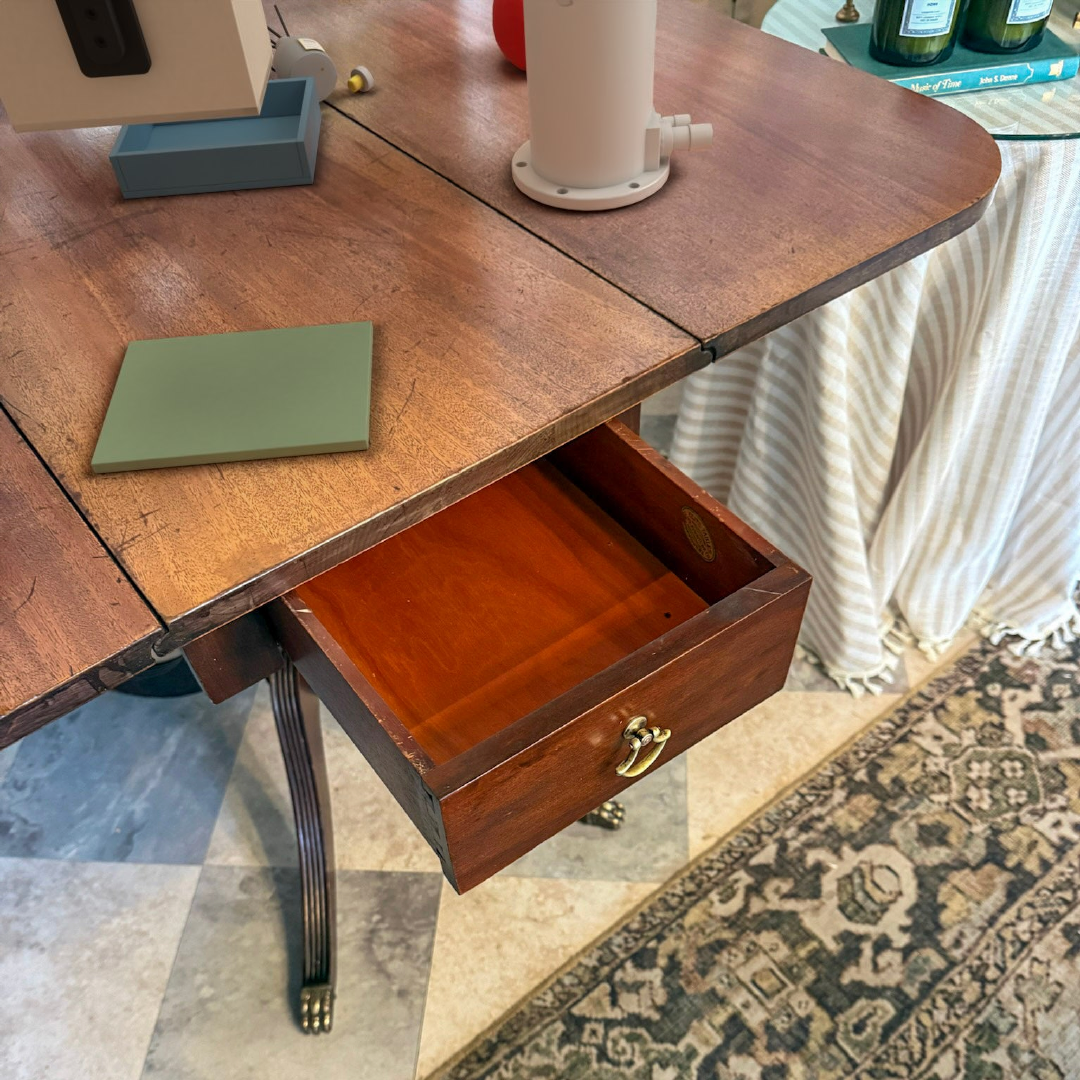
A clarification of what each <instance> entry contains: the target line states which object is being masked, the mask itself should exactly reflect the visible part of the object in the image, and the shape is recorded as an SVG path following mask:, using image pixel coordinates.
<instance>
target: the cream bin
mask: <svg viewBox="0 0 1080 1080" xmlns="http://www.w3.org/2000/svg"><path fill="white" fill-rule="evenodd" d="M133 3H134V7H135V10H136V13H137V16H138V20H139V23H140V26H141V29H142V32H143V36H144V39H145V42H146V45H147V48H148V52H149V55H150V58H151V62H152V65H151V68H150V70H149V72H148V73H146V74H141V75H127V76H113V77H99V78H89V77H86V76H85V75H84V74H83V73H82V72H81V70H80V67H79V65H78V62H77V59H76V57H75V54H74V51H73V48H72V46H71V43H70V40H69V37H68V35H67V32H66V29H65V26H64V24H63V21H62V18H61V15H60V13H59V10H58V7H57V4H56V2H55V0H0V101H1V102H2V105H3V108H4V110H5V112H6V114H7V116H8V120H9V121H10V123H11V126H12V128H13V130H14V133H15V134H23V133H37V132H39V133H40V132H50V131H51V132H52V131H64V130H79V129H92V128H105V127H106V128H107V127H118V126H122V125H134V124H147V123H161V122H175V121H188V120H202V119H216V118H229V117H243V116H256V115H260V111H261V107H262V103H263V99H264V95H265V91H266V87H267V83H268V80H270V75H271V71H272V66H273V63H274V55H275V54H274V52H273V48H272V46H271V45H272V43H271V42H270V39H271V36H270V34H269V33H270V32H269V30H268V28H267V26H268V24H267V20H266V15H265V12H264V11H265V10H264V7H263V3H262V0H133Z"/></svg>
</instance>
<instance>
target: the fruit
mask: <svg viewBox="0 0 1080 1080" xmlns="http://www.w3.org/2000/svg"><path fill="white" fill-rule="evenodd" d="M491 9H492V10H491V11H492V12H491V15H492V16H491V23H492V25H491V26H492V31H493V35H494V39H495V42H496V44H497V46H498V48H499V50H500V51H501V53H502V55H503V56H504V57H505V58H506V59H507V60H508V61H509V62H510V63H511V64H513V66H515V67H516V68H518V69H519V70H520V71H524V72H527V69H526V48H525V27H524V6H523V0H492V7H491Z"/></svg>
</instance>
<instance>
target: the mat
mask: <svg viewBox="0 0 1080 1080" xmlns="http://www.w3.org/2000/svg"><path fill="white" fill-rule="evenodd" d="M373 345H374V327H373V322H372V320H364V321H363V320H362V321H354V322H353V321H352V322H341V323H328V324H327V323H326V324H316V325H304V326H293V327H284V328H283V327H281V328H270V329H257V330H247V331H246V330H245V331H234V332H224V333H212V334H198V335H188V336H175V337H174V336H173V337H163V338H152V339H140V340H131V341H129V342H128V345H127V348H126V351H125V354H124V357H123V360H122V364H121V367H120V370H119V373H118V376H117V379H116V382H115V386H114V389H113V392H112V395H111V398H110V402H109V404H108V407H107V410H106V415H105V417H104V419H103V420H104V421H103V424H102V426H101V430H100V433H99V436H98V439H97V442H96V445H95V449H94V452H93V455H92V459H91V461H90V466H91V468H92V470H93V472H94V473H95V474H105V473H115V472H116V473H117V472H127V471H129V472H130V471H139V470H140V471H141V470H150V469H161V468H172V467H173V468H174V467H184V466H185V467H186V466H195V465H206V464H217V463H229V462H230V463H231V462H241V461H251V460H253V461H254V460H264V459H274V458H286V457H287V458H288V457H295V456H296V457H297V456H298V457H299V456H308V455H320V454H329V453H330V454H331V453H343V452H354V451H365V450H369V444H370V443H369V441H370V416H371V395H372V392H371V391H372V370H373V369H372V367H373V347H374V346H373Z"/></svg>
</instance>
